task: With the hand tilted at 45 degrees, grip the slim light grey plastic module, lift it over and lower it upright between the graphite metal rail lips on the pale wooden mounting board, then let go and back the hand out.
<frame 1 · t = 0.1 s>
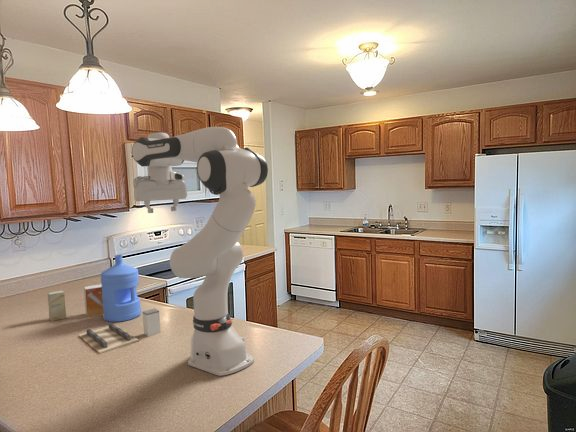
hand: (162, 212, 148), 48 cm above the worktop, tool pointing down, fingers open, 8 cm apart
small box: (96, 314, 179), on the worktop
skincare box: (58, 318, 174), on the worktop
rail board: (108, 338, 148), on the worktop
water jug: (123, 316, 173), on the worktop
module: (152, 333, 152), on the worktop
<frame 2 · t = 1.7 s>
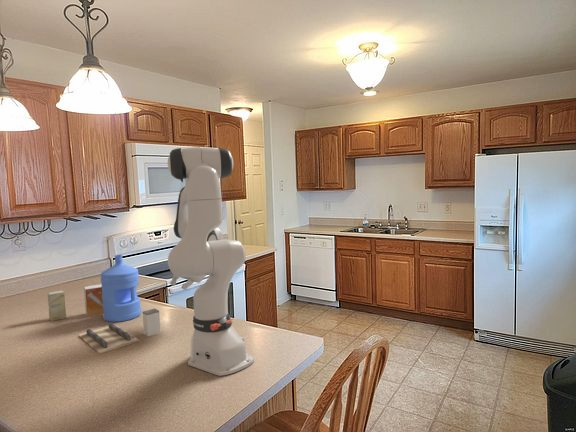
hand: (177, 286, 159), 16 cm above the worktop, tool tilted 45°, fingers open, 8 cm apart
nothing on the worktop moved.
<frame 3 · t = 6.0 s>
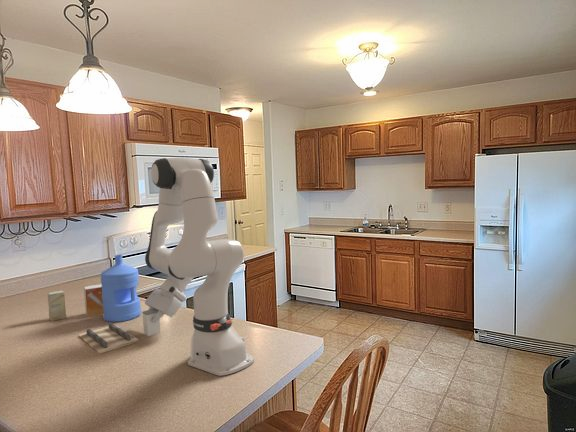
hand: (149, 320, 151), 5 cm above the worktop, tool tilted 45°, fingers closed on module, 4 cm apart
module: (152, 333, 152), on the worktop, touching gripper
everything else where it was.
when the fingers open (8 cm above the worktop, at t = 14.2 s): module drops 2 cm, resting on rail board.
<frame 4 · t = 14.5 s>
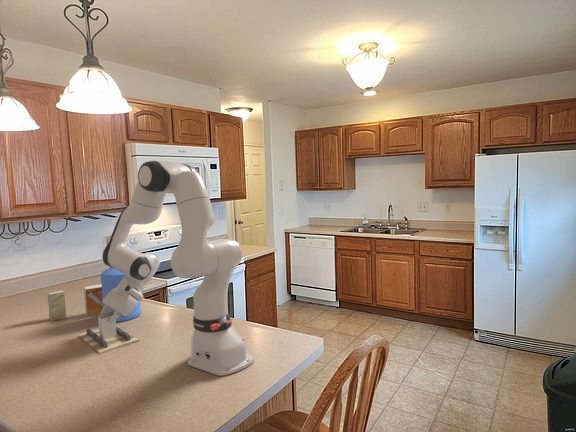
hand: (105, 320, 147), 8 cm above the worktop, tool tilted 45°, fingers open, 7 cm apart
module: (108, 337, 148), point 1 cm above the worktop, touching rail board
everything else where it was.
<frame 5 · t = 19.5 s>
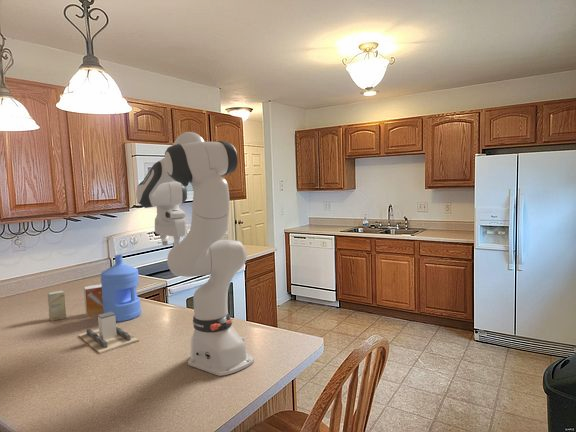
hand: (170, 246, 158), 33 cm above the worktop, tool pointing down, fingers open, 8 cm apart
nothing on the worktop moved.
at the end: module inside the target area on the rail board (0.0 cm from its centre), point 0.6 cm above the rail board's base; module tilted 0°; the gripper is holding nothing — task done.
